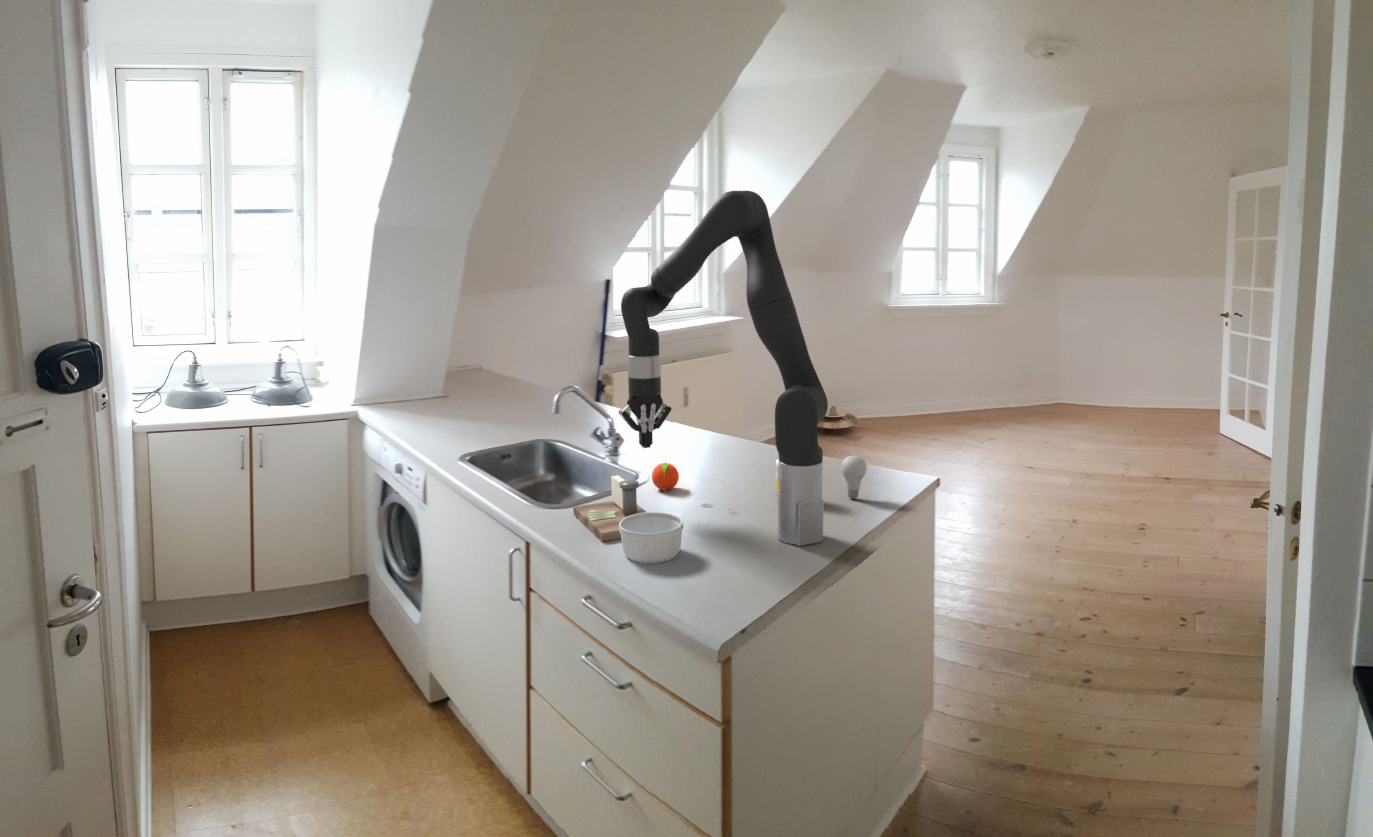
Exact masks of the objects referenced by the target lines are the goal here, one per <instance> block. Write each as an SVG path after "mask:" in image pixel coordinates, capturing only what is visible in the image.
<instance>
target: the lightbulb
mask: <svg viewBox="0 0 1373 837" xmlns="http://www.w3.org/2000/svg"><path fill="white" fill-rule="evenodd" d="M840 469H841V470H840V471H841V473H842V476H843V477H844V479H845V482H846V489H847V497H848V498H850V499H851V500H856V499H857V498H858V497H859V490H860V488H861V483H862V481H863V478H864V477H865V475H866V473H867V469H868V467H867V463H866V462H865V460H864V458H863V457H861V456H859V455H849V456H847V457H845V458H844V459H843V461H842V462H841V466H840Z"/></svg>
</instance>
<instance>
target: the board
mask: <svg viewBox="0 0 1373 837" xmlns="http://www.w3.org/2000/svg"><path fill="white" fill-rule="evenodd" d="M646 512H647V510H645V509H643V508H642V507H641V506H640V505H638V504H637V513H636V514H638V513H646ZM574 515H575V516H576V517H577V518H578V519H579V520H580V521H579V520H578V521H579V522H580V523H581V524H583V526H584V527H586V528H587V529H588V530H589V531H590V532H591V533H592V532H593V533H594V534H595V535H596V536H597V537H598V538H599V539H600V540H601V541H602V542H601V541H600V540H599V539H598V538H597V537H596V536H595V535H594V534H593V533H592V534H593V535H594V536H595V537H596V538H597V539H598V540H599V541H600V542H601V543H604V541H605V542H609V541H608V540H611V541H616V539H617V540H621V533H620V532H619V523H620V521H621V520H622V519H624V518H625V517H628V516H630V515H625V514H623V509H622V508H620V507H619V506H618V505H617V504H616V503H614V502H613V501H612V500H610V501H603V502H602V501H601V502H595V503H589V504H584V505H577V506H573V516H574ZM575 516H574V517H575ZM576 517H575V518H576ZM577 518H576V519H577Z"/></svg>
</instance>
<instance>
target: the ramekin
mask: <svg viewBox="0 0 1373 837" xmlns="http://www.w3.org/2000/svg"><path fill="white" fill-rule="evenodd" d="M683 530H684V521H683V519H682V518H681V517H680V516H677V515H676V514H672V513H669V512H662V511H661V512H660V511H646V513H638V514H634V515H630V516H628V517H625V518H624V519H622V520H621V521H620V523H619V532H620V533H621V539H620V541H621V546H622V550H623V552H624V555H625V556H626V557H627V558H628V559H629V560H631V561H633V560H634V561H633V562H636V561H637V562H636V563H641V564H657V563H658V562H659V563H663V562H664V561H665V562H668V561H670V560H672V559H674V558H675V557H677V555H678V554H679V552H680V549H681V546H682V545H681V544H682V538H683V536H682V535H683Z"/></svg>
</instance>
